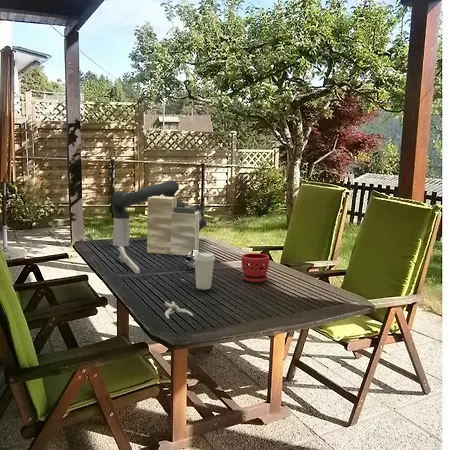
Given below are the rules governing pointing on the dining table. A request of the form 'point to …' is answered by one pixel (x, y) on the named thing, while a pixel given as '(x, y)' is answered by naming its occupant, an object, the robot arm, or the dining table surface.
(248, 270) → the plant pot
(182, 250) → the step stand
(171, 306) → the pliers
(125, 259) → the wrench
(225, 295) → the dining table surface
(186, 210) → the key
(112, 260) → the dining table surface
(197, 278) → the coffee cup
